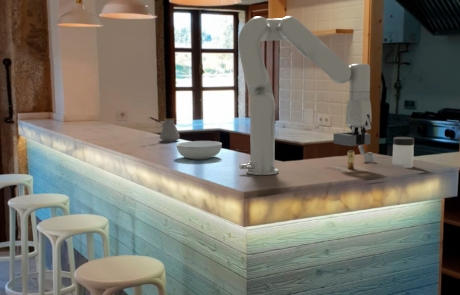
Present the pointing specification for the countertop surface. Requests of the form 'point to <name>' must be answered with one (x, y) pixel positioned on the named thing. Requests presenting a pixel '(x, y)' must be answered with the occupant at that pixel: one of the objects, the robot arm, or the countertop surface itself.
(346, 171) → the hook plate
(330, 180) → the countertop surface
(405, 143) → the jar
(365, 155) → the lighter
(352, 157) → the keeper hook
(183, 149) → the serving bowl
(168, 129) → the coffee pot
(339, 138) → the grey square frame
